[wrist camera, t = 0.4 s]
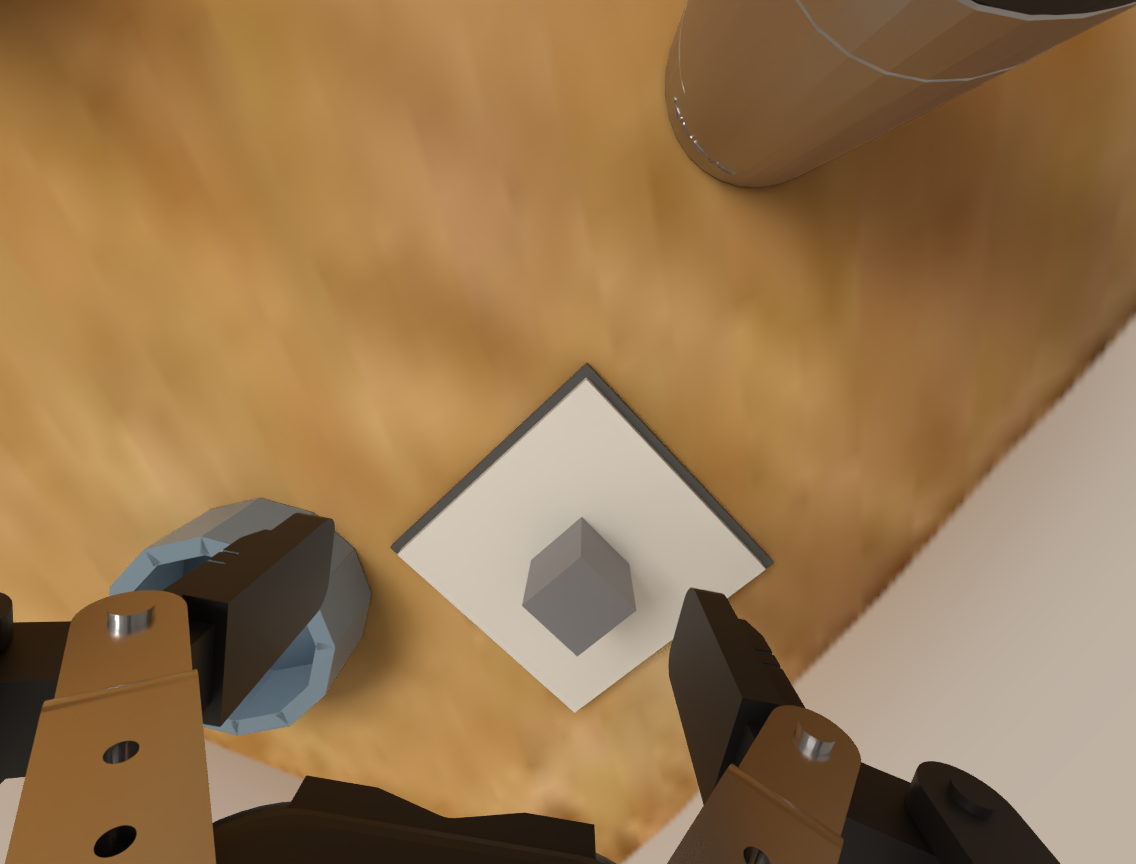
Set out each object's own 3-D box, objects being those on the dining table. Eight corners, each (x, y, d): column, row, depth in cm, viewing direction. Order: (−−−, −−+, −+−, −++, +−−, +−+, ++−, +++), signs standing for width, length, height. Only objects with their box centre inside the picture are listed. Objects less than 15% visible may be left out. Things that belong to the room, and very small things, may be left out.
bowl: (255, 461, 31) (194, 494, 26) (407, 595, 33) (377, 649, 28) (140, 584, 33) (65, 635, 28) (289, 701, 35) (242, 767, 31)
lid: (586, 377, 28) (586, 397, 23) (761, 562, 31) (795, 617, 26) (401, 548, 31) (366, 599, 26) (574, 703, 34) (572, 776, 29)
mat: (586, 362, 29) (586, 363, 28) (770, 558, 31) (773, 562, 31) (393, 543, 32) (390, 547, 31) (574, 706, 35) (574, 712, 34)
